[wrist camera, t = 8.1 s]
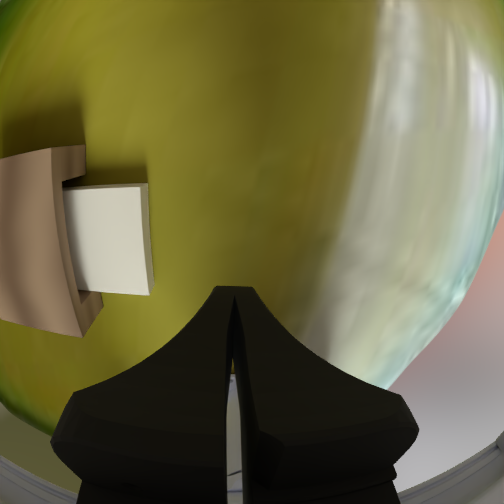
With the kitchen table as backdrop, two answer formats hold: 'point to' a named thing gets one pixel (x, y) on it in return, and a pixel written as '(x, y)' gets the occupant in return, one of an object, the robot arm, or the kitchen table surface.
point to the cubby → (41, 244)
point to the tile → (110, 237)
